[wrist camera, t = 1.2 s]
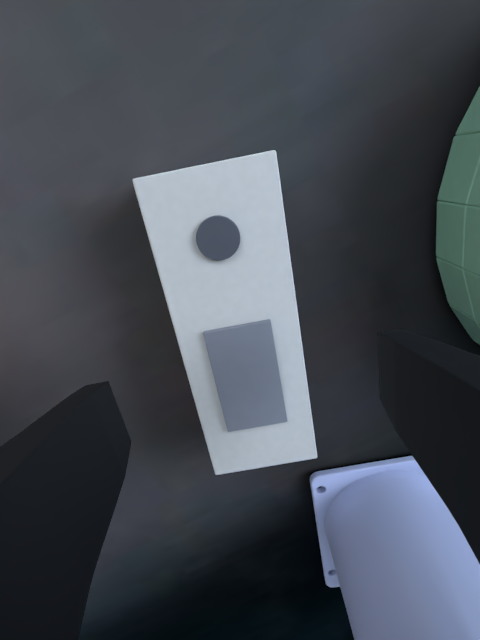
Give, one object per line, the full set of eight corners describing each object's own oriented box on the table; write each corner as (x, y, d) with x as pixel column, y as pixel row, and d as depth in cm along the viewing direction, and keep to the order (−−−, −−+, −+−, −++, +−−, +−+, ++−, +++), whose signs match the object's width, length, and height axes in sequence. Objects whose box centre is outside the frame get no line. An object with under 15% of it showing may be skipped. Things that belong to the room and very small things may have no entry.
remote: (302, 409, 19) (318, 462, 15) (217, 424, 19) (215, 479, 15) (265, 153, 14) (276, 149, 11) (152, 176, 14) (129, 179, 11)
